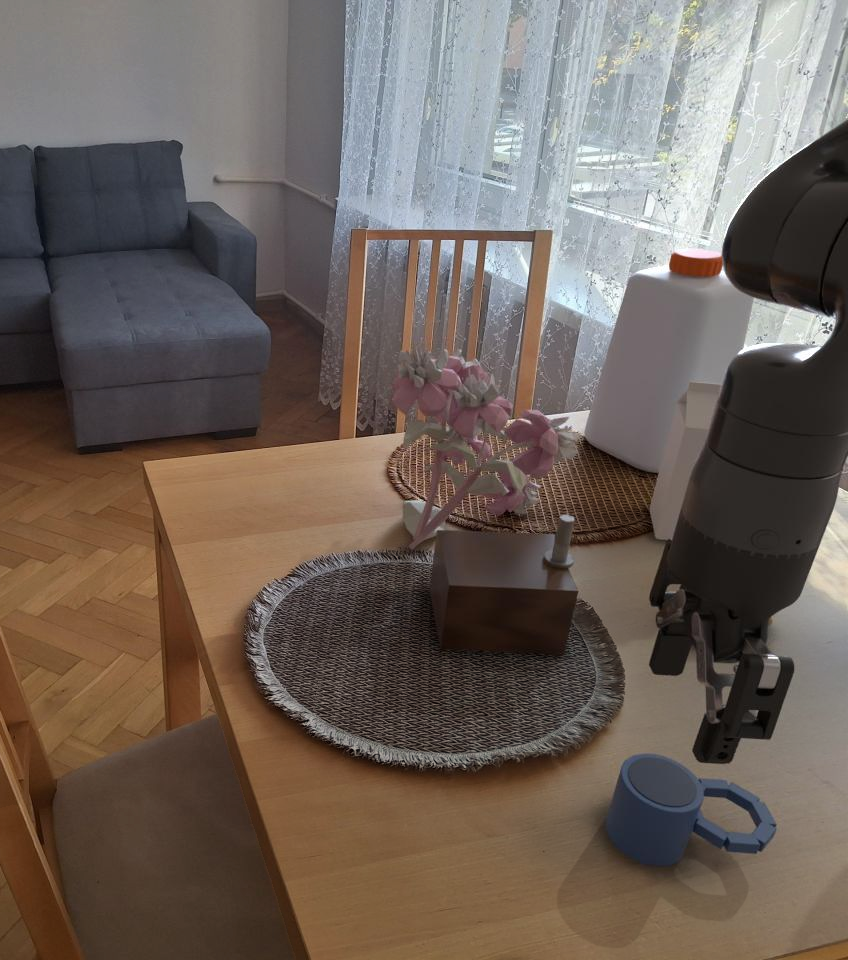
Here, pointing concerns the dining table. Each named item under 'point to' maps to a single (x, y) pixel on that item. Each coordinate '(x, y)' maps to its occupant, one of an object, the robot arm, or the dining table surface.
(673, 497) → the milk carton
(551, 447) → the flower
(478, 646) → the walnut box
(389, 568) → the dining table surface
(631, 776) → the blue mug
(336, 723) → the dining table surface
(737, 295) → the plastic bottle
